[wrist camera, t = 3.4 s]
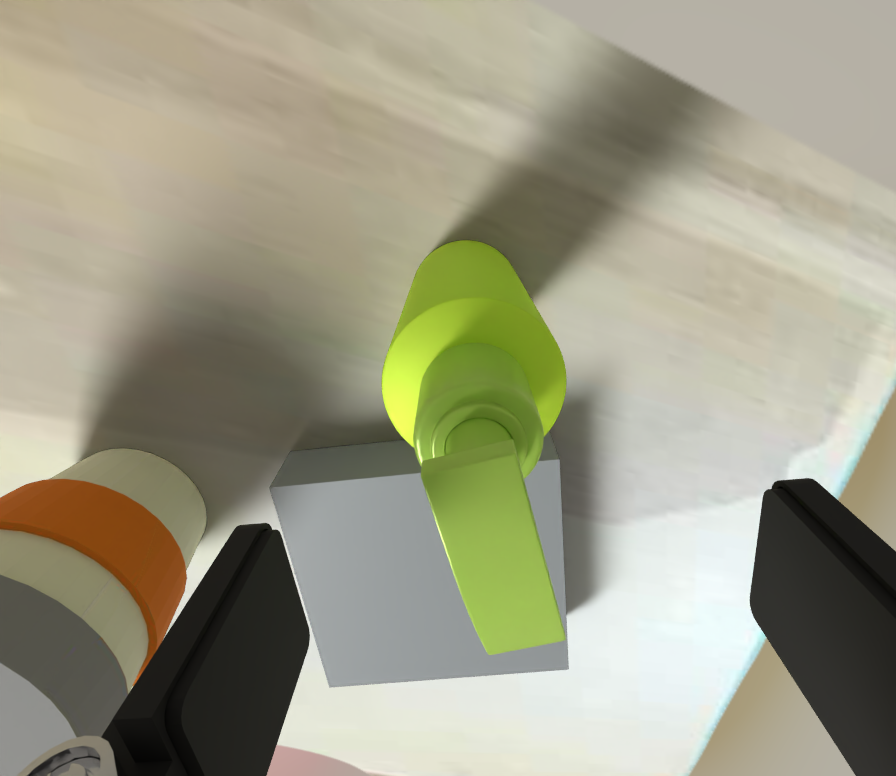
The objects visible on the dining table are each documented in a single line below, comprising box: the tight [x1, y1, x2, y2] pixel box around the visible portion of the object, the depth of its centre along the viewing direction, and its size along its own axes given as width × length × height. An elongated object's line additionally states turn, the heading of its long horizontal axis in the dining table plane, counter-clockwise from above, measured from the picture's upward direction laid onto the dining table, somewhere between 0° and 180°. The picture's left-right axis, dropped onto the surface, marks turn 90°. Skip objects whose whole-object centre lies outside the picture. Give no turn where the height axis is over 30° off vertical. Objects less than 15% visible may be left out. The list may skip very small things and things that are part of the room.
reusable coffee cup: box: [0, 448, 207, 776], centre depth 27 cm, size 13×13×15 cm
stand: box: [270, 431, 569, 687], centre depth 33 cm, size 16×16×4 cm
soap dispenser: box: [382, 240, 566, 655], centre depth 20 cm, size 6×7×20 cm
